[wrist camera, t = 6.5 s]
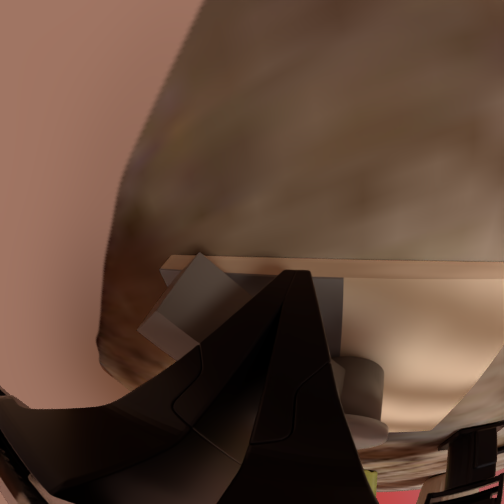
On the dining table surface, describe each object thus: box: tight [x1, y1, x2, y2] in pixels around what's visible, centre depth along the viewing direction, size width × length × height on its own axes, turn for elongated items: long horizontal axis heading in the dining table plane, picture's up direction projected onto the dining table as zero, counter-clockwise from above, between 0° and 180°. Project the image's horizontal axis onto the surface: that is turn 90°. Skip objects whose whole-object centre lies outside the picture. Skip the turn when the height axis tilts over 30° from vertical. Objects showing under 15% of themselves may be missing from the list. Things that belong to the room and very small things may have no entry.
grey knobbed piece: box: [137, 252, 389, 449], centre depth 11 cm, size 11×9×3 cm
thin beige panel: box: [159, 255, 504, 432], centre depth 13 cm, size 16×16×1 cm
